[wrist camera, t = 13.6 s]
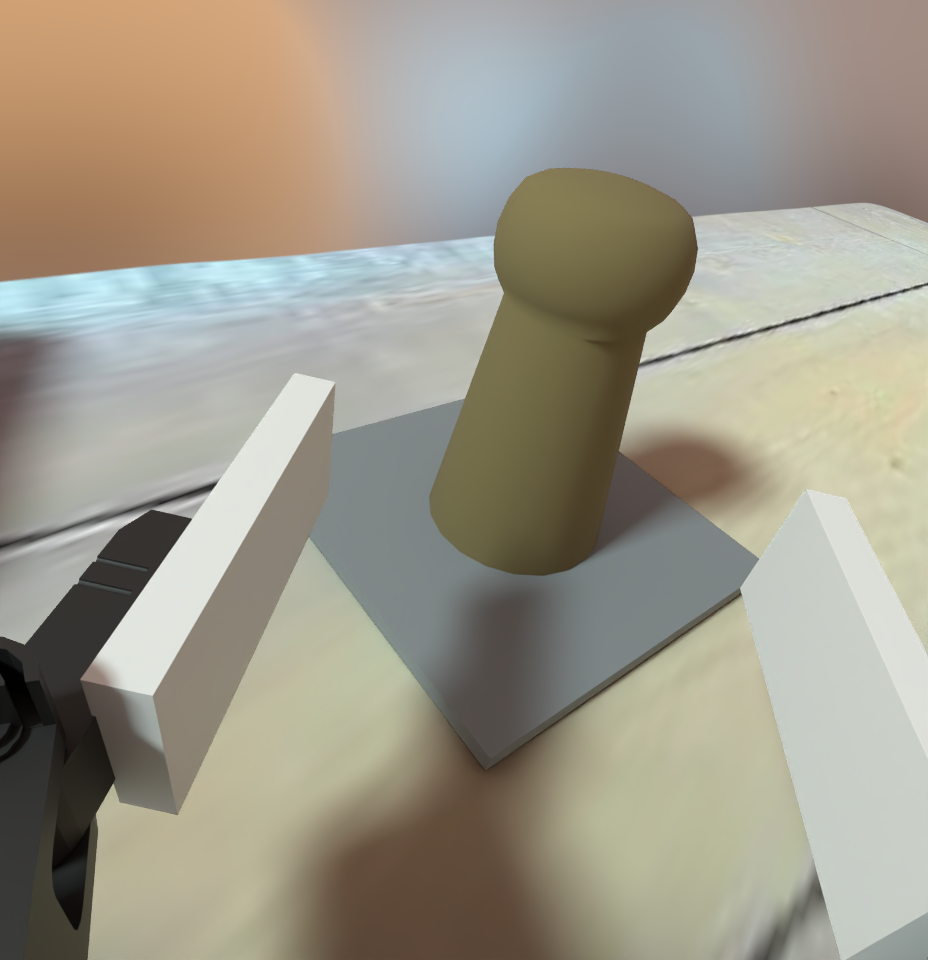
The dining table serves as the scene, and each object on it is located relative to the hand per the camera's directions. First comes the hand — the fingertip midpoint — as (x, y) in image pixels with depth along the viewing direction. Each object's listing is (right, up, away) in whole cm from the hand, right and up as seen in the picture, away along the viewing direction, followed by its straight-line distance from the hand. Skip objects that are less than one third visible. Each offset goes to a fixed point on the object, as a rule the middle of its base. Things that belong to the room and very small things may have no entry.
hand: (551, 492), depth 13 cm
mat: (0, -1, +11) cm, 11 cm away
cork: (0, -1, +10) cm, 10 cm away
